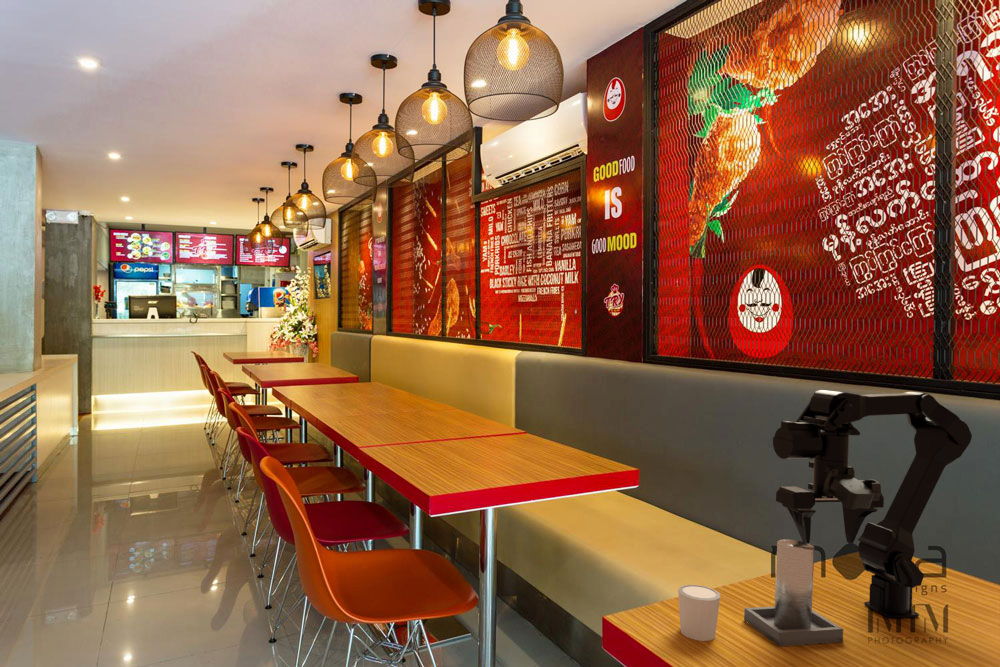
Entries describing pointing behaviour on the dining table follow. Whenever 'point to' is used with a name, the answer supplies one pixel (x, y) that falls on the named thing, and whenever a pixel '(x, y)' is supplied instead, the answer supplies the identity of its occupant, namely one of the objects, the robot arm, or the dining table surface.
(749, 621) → the tray
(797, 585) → the silver metal cylinder
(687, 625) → the white cup
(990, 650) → the dining table surface
